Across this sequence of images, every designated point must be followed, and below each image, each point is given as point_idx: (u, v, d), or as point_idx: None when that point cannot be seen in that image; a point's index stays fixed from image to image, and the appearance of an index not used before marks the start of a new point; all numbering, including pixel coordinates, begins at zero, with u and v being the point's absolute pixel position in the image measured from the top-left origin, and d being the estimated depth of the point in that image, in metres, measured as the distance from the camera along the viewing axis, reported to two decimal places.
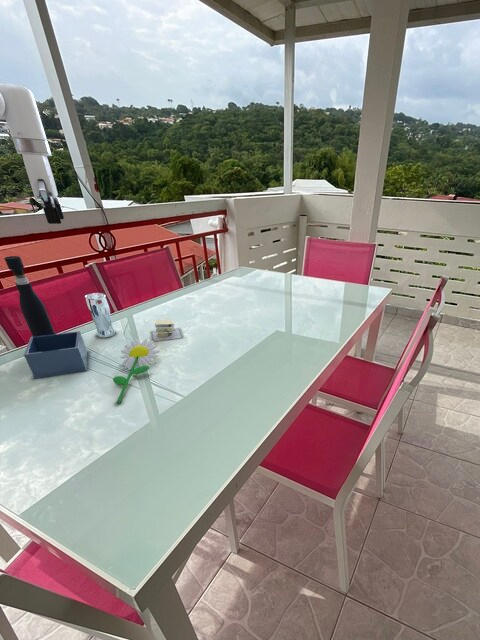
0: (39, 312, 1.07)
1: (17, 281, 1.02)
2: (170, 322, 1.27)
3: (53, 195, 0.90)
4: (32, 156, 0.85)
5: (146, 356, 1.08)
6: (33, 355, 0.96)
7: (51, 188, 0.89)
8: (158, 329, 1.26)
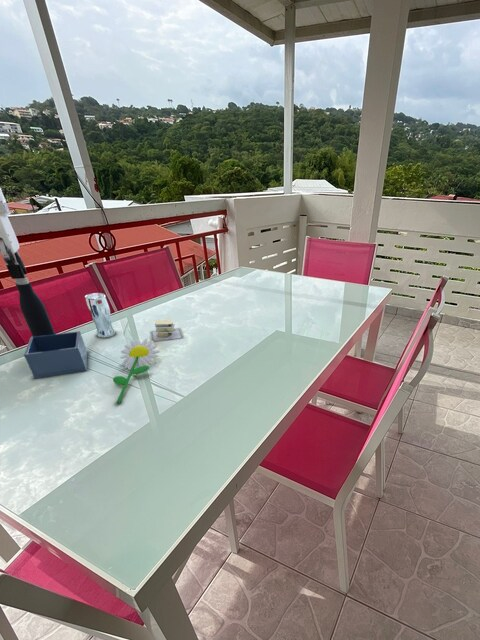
0: (39, 312, 1.07)
1: (17, 281, 1.02)
2: (170, 322, 1.27)
3: (12, 251, 0.95)
4: None
5: (146, 356, 1.08)
6: (33, 355, 0.96)
7: (10, 245, 0.94)
8: (158, 329, 1.26)
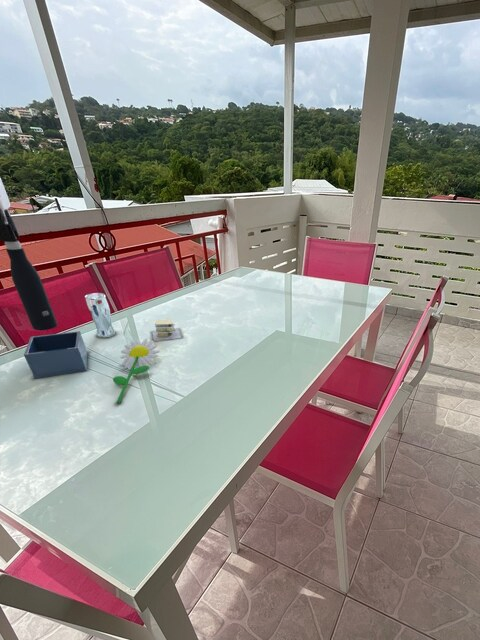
0: (34, 283, 0.93)
1: (8, 245, 0.88)
2: (170, 322, 1.27)
3: (1, 207, 0.81)
4: None
5: (146, 356, 1.08)
6: (33, 355, 0.96)
7: None
8: (158, 329, 1.26)
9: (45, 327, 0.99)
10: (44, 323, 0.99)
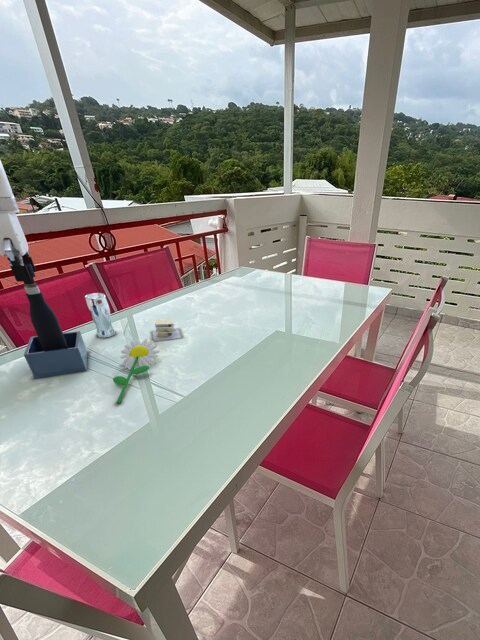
0: (51, 324, 0.98)
1: (27, 290, 0.92)
2: (170, 322, 1.27)
3: (21, 253, 0.85)
4: None
5: (146, 356, 1.08)
6: (33, 355, 0.96)
7: (19, 246, 0.84)
8: (158, 329, 1.26)
9: None
10: None
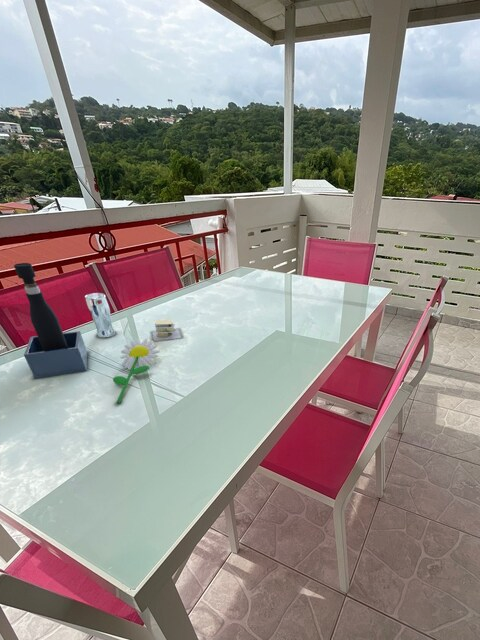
0: (51, 324, 0.98)
1: (27, 290, 0.92)
2: (170, 322, 1.27)
3: None
4: None
5: (146, 356, 1.08)
6: (33, 355, 0.96)
7: None
8: (158, 329, 1.26)
9: None
10: None
